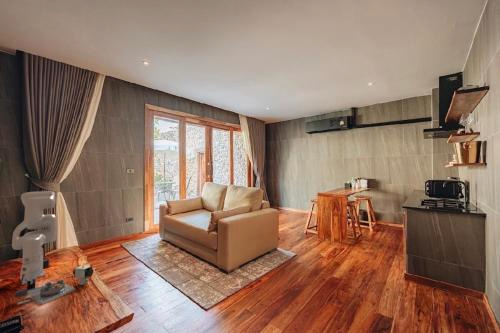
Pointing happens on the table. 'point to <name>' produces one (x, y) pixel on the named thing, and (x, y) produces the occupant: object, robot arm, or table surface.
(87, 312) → the table surface
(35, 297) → the flange plate
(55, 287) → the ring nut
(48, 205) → the robot arm
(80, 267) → the pneumatic valve
